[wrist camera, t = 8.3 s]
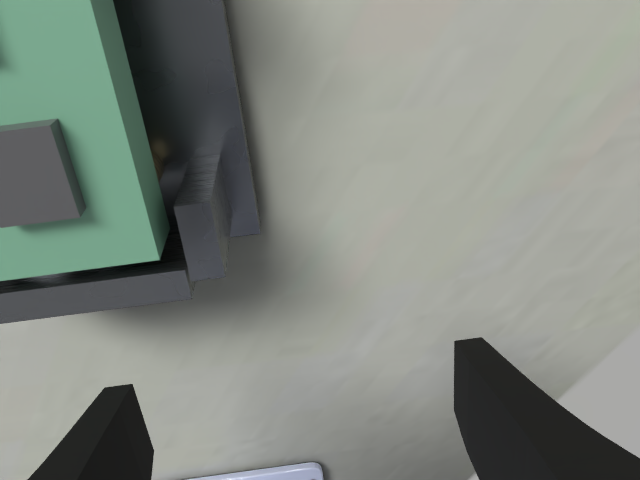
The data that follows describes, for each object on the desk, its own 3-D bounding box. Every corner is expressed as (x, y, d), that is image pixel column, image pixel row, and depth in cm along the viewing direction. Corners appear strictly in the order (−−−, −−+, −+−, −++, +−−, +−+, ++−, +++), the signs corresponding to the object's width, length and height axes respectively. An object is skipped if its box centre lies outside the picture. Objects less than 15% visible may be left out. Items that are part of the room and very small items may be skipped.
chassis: (194, -180, 16) (168, -224, 12) (260, 221, 22) (259, 293, 18) (-172, -140, 16) (-339, -170, 12) (-9, 255, 22) (-79, 337, 17)
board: (85, -112, 14) (48, -122, 12) (169, 228, 18) (156, 271, 16) (-130, -87, 14) (-210, -92, 11) (6, 249, 18) (-33, 295, 16)
